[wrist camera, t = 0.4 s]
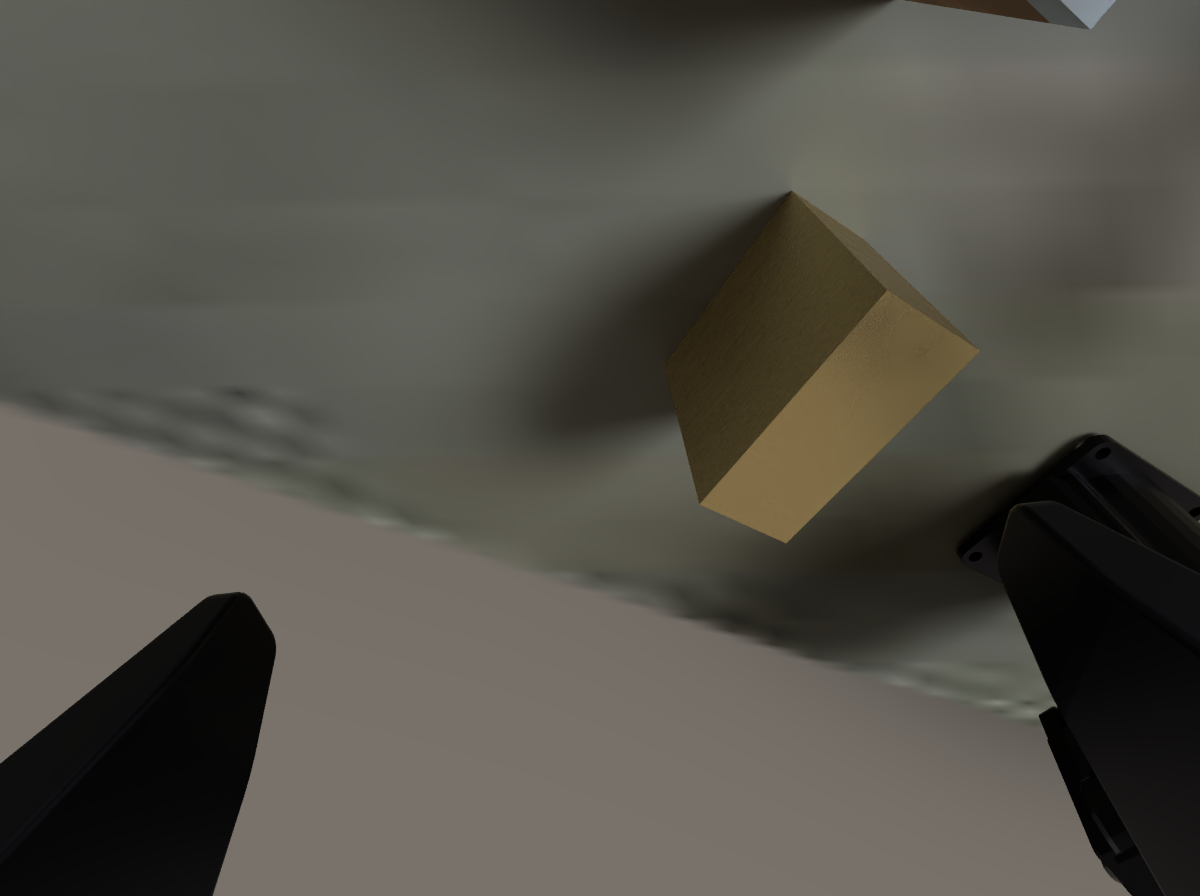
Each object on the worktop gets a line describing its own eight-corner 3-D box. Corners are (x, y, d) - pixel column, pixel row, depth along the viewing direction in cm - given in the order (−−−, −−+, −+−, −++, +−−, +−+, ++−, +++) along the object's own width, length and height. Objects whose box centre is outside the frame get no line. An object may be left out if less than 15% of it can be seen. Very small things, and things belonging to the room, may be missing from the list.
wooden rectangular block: (863, 239, 19) (980, 350, 14) (731, 400, 22) (786, 543, 17) (791, 190, 18) (887, 290, 13) (664, 364, 21) (699, 504, 16)
